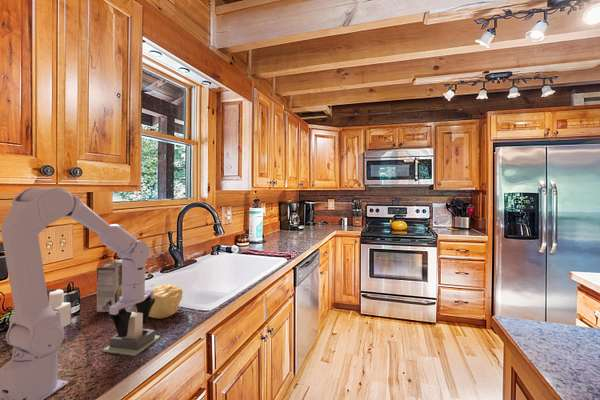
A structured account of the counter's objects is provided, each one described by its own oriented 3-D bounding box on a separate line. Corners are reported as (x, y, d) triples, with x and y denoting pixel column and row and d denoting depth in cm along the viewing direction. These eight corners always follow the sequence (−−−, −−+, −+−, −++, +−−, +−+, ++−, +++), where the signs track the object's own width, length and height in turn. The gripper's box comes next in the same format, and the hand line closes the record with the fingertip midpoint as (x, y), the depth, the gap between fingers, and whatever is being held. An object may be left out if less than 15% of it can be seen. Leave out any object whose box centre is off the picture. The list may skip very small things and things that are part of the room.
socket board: (135, 355, 77) (135, 344, 77) (102, 351, 79) (103, 340, 79) (160, 337, 87) (160, 327, 87) (130, 334, 89) (130, 324, 89)
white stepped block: (29, 333, 88) (29, 294, 88) (48, 323, 95) (49, 287, 95) (53, 334, 88) (53, 294, 88) (71, 323, 95) (71, 287, 95)
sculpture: (165, 324, 96) (165, 291, 96) (135, 319, 99) (136, 288, 99) (187, 311, 107) (187, 282, 107) (160, 307, 110) (160, 279, 110)
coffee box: (107, 303, 113) (108, 262, 113) (125, 302, 114) (126, 261, 114) (95, 312, 104) (96, 267, 104) (115, 311, 106) (115, 267, 105)
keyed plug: (134, 345, 81) (134, 317, 81) (120, 343, 82) (120, 315, 82) (142, 340, 84) (142, 313, 84) (128, 338, 85) (128, 311, 85)
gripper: (139, 274, 90) (139, 318, 91) (99, 289, 76) (99, 340, 76) (159, 276, 89) (159, 320, 89) (123, 291, 75) (122, 343, 75)
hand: (133, 329), depth 83 cm, fingers open, 7 cm apart
